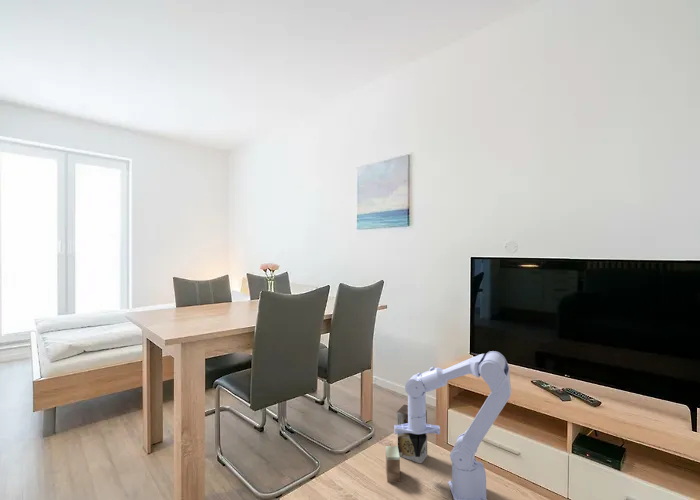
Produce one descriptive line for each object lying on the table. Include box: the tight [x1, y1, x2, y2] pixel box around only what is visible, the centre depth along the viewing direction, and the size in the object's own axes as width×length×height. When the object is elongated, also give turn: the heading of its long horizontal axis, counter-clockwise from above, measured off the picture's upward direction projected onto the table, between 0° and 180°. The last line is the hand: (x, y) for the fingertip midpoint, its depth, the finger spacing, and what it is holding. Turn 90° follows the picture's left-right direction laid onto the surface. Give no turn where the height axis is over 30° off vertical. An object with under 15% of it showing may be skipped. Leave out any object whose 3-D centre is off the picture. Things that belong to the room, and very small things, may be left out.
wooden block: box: [385, 445, 401, 483], centre depth 111 cm, size 4×6×8 cm, turn 178°
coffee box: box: [396, 404, 428, 464], centre depth 122 cm, size 9×6×16 cm
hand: (417, 454), depth 111 cm, fingers closed
